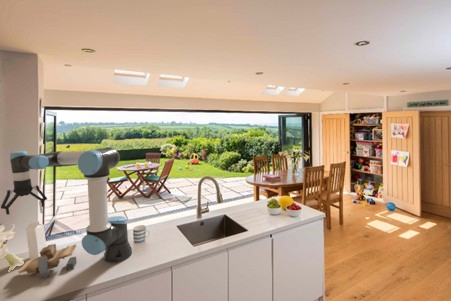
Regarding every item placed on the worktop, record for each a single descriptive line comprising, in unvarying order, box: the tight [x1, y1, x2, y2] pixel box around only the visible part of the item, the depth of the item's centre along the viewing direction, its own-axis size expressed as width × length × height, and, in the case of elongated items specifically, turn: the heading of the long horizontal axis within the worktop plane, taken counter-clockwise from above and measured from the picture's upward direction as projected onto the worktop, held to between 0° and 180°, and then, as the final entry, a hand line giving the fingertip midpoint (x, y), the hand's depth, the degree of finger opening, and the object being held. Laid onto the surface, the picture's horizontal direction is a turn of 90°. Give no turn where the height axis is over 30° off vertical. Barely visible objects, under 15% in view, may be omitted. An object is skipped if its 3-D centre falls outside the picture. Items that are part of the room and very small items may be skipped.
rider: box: [40, 244, 57, 259], centre depth 131 cm, size 5×5×5 cm
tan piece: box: [18, 243, 77, 277], centre depth 132 cm, size 24×11×9 cm, turn 107°
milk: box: [25, 220, 47, 260], centre depth 145 cm, size 6×6×22 cm
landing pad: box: [66, 256, 77, 271], centre depth 136 cm, size 3×7×4 cm, turn 18°
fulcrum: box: [38, 243, 58, 280], centre depth 132 cm, size 4×15×11 cm, turn 19°
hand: (26, 216), depth 140 cm, fingers open, 13 cm apart
